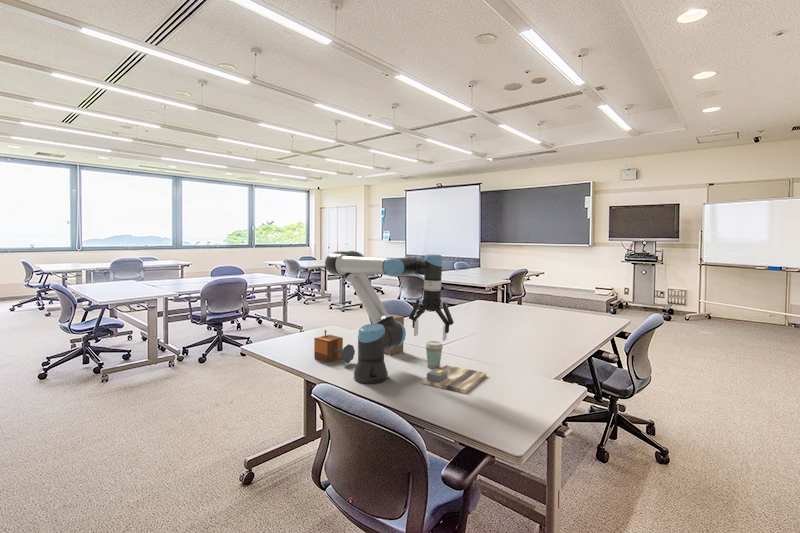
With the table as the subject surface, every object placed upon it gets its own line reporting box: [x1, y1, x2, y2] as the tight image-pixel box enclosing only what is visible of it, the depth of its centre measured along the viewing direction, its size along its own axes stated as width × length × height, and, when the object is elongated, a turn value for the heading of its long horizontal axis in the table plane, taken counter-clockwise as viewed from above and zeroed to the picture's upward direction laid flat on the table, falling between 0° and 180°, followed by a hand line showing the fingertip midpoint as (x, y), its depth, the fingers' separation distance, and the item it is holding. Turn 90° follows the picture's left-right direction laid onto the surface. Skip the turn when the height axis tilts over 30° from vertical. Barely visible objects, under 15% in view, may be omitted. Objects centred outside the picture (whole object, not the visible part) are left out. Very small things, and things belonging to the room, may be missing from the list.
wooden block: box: [384, 313, 405, 356], centre depth 215 cm, size 10×10×20 cm
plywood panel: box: [421, 364, 487, 394], centre depth 173 cm, size 20×25×2 cm
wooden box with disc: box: [313, 329, 356, 364], centre depth 199 cm, size 11×20×14 cm, turn 50°
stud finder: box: [426, 368, 448, 383], centre depth 169 cm, size 6×8×3 cm
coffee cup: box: [424, 340, 444, 370], centre depth 190 cm, size 8×9×12 cm
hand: (429, 337), depth 170 cm, fingers open, 13 cm apart
